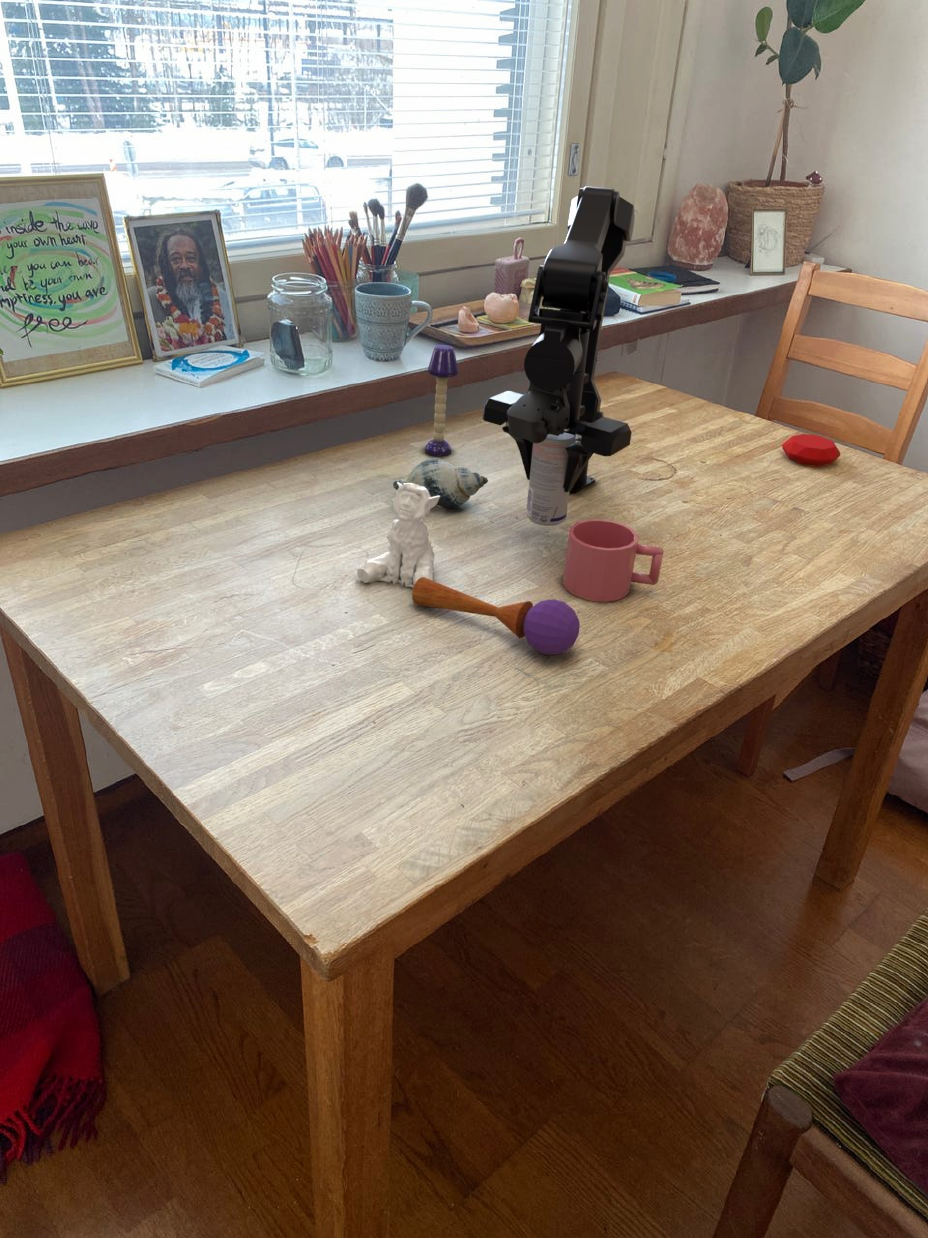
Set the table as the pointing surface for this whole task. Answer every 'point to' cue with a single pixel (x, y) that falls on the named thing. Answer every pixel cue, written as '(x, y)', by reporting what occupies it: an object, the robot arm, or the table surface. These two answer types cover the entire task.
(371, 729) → the table surface
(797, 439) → the gemstone
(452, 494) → the seashell
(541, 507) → the energy drink
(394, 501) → the seated beast figurine
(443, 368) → the toy lamp
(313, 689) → the table surface
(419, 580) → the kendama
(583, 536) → the mug
